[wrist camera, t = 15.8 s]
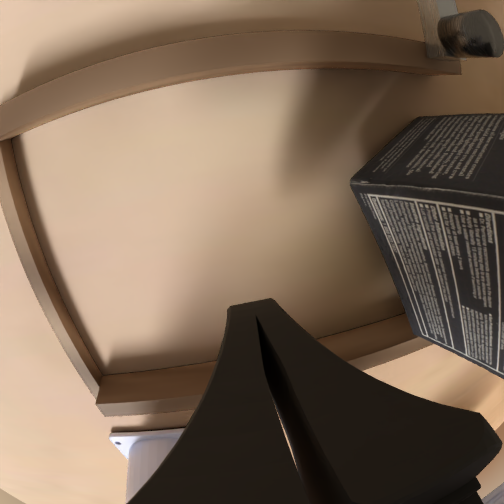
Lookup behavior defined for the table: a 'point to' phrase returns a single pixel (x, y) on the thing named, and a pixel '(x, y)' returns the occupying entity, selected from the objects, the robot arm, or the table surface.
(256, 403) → the robot arm
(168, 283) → the table surface
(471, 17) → the bar
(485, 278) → the small box
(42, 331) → the table surface
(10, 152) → the dock
